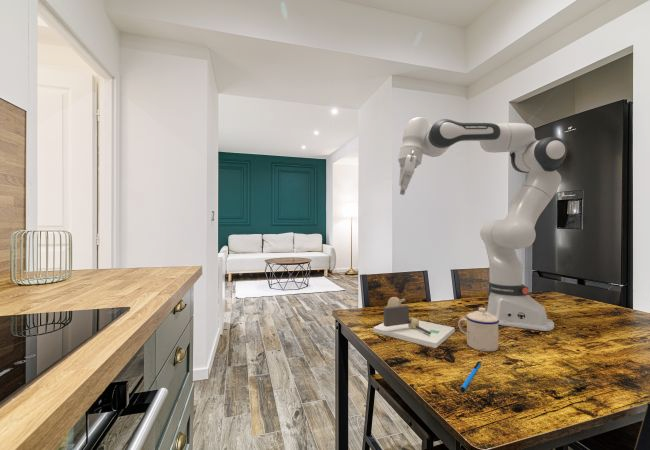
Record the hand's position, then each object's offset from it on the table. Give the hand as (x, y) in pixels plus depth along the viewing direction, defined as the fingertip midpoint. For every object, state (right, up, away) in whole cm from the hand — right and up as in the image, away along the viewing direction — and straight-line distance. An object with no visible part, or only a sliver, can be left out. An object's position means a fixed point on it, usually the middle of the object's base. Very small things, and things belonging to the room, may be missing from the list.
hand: (403, 191), depth 120 cm
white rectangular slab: (0, -50, -13) cm, 52 cm away
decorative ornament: (+1, -50, +16) cm, 53 cm away
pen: (+6, -51, -43) cm, 67 cm away
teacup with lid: (+17, -50, -24) cm, 58 cm away
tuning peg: (-3, -48, -17) cm, 51 cm away
